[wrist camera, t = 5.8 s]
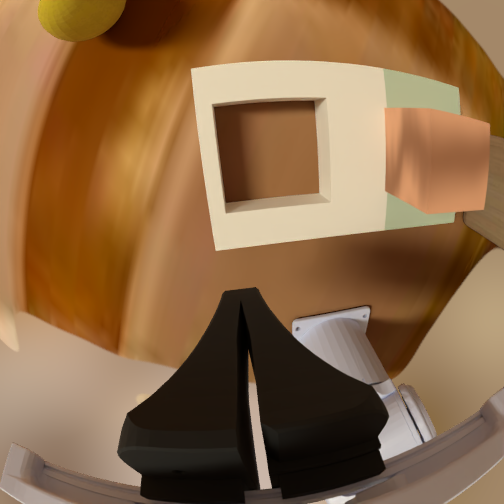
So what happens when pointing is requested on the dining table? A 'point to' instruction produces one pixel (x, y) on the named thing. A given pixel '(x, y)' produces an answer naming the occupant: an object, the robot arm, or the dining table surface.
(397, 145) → the block
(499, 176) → the wooden block
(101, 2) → the lemon
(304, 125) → the dining table surface
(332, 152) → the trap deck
